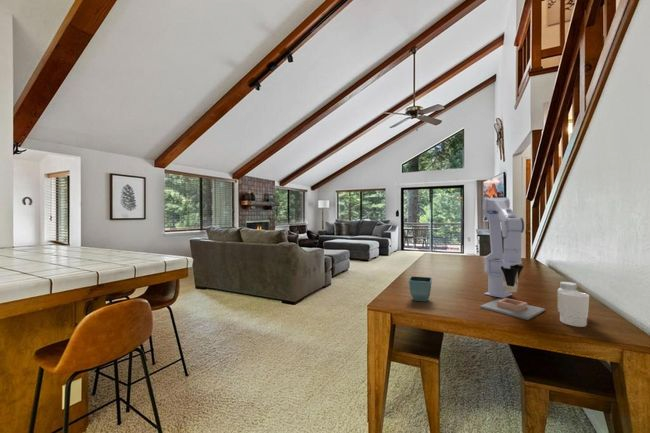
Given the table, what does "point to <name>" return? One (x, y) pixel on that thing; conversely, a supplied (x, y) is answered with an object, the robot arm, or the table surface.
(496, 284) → the robot arm
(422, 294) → the flower pot
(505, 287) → the peg
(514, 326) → the table surface
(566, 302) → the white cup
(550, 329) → the table surface
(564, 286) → the pill bottle
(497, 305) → the holder
